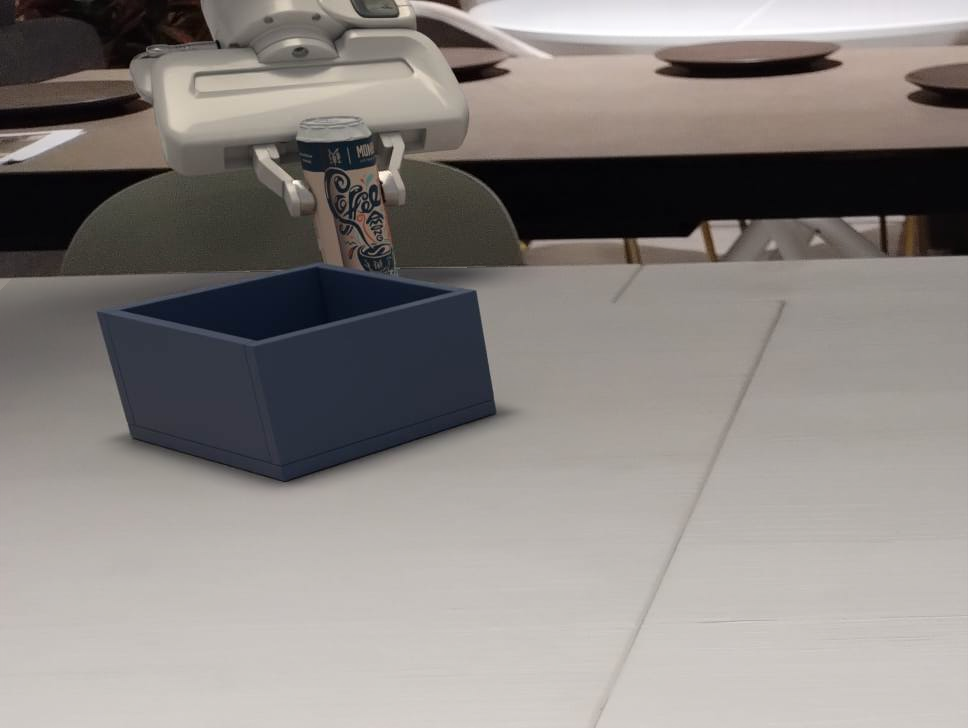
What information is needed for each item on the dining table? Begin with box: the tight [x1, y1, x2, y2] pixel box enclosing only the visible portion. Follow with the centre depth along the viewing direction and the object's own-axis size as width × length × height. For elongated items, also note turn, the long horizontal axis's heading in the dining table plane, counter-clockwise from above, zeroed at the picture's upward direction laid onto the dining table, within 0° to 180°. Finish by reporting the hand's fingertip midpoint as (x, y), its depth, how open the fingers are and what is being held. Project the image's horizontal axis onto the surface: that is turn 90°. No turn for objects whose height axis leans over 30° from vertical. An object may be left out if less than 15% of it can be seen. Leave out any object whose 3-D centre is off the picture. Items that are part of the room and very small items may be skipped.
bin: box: [96, 262, 497, 482], centre depth 91 cm, size 14×14×7 cm
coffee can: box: [296, 116, 399, 277], centre depth 115 cm, size 5×5×12 cm
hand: (350, 205), depth 114 cm, fingers closed on coffee can, 5 cm apart
